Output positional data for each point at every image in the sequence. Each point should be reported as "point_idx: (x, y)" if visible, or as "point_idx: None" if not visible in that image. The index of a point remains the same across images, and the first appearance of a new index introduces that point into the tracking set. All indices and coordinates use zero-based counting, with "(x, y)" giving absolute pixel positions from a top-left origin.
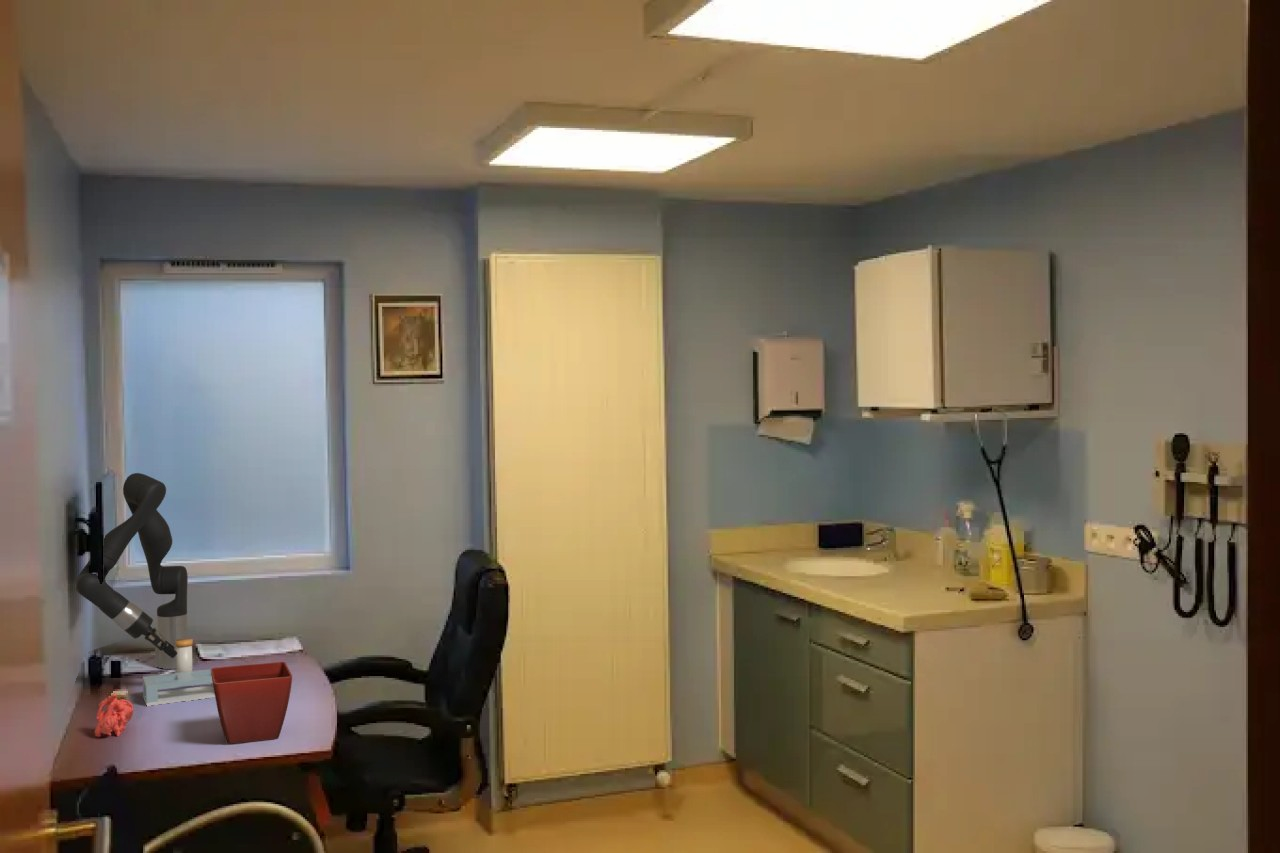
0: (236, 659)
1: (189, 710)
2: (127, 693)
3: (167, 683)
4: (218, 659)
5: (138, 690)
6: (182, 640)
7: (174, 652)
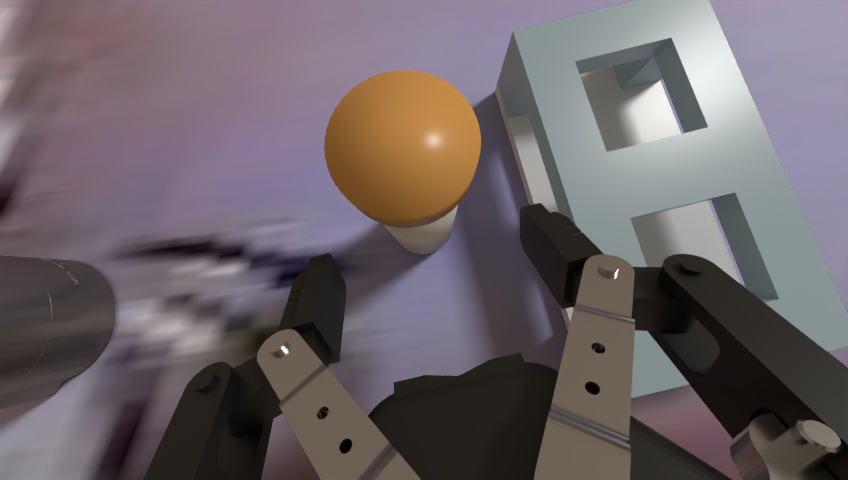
0: (48, 91)
1: (827, 156)
2: None
3: (811, 237)
4: (16, 156)
5: None
6: (400, 155)
7: (565, 218)
